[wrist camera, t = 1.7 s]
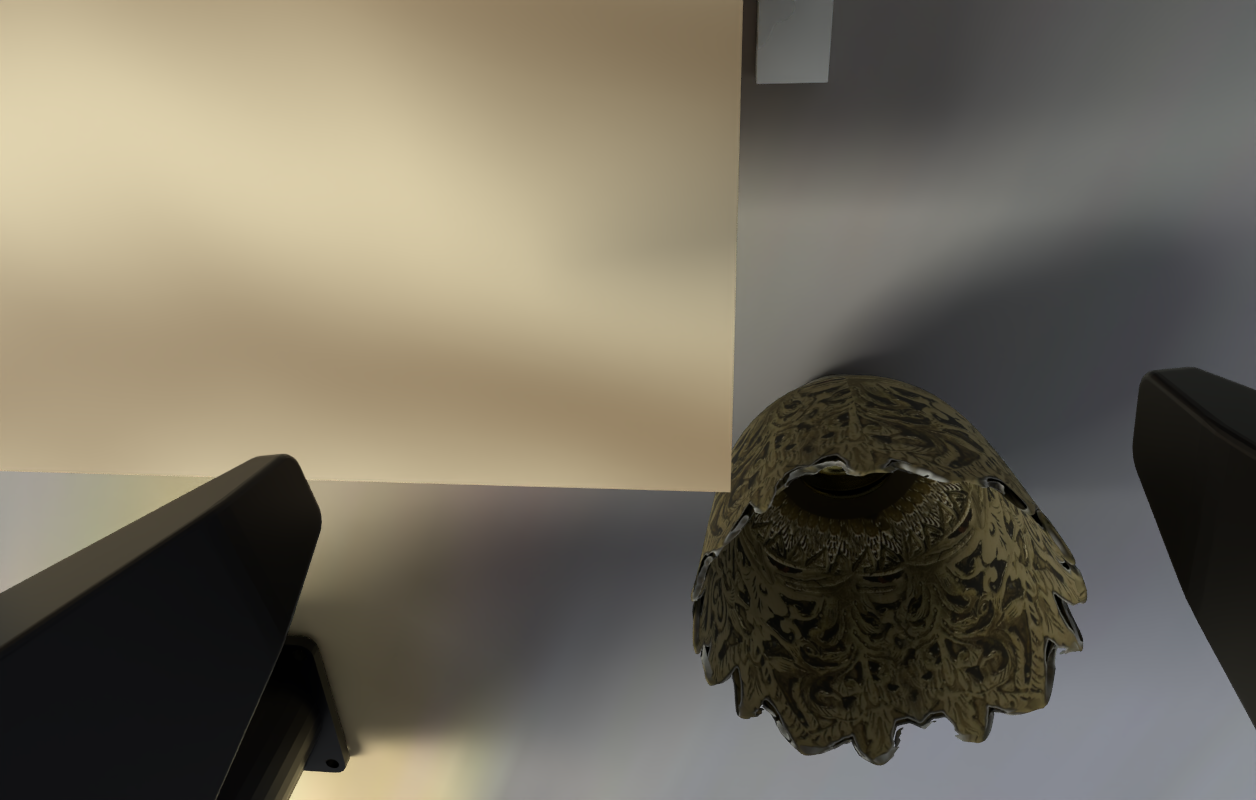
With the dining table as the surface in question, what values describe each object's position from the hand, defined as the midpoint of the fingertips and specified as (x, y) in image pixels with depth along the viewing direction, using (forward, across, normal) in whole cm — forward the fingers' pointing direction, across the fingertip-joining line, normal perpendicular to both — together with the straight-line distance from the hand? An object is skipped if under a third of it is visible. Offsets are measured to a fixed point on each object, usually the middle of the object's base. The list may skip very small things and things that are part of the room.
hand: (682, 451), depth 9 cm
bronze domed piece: (+13, -2, +8) cm, 15 cm away
